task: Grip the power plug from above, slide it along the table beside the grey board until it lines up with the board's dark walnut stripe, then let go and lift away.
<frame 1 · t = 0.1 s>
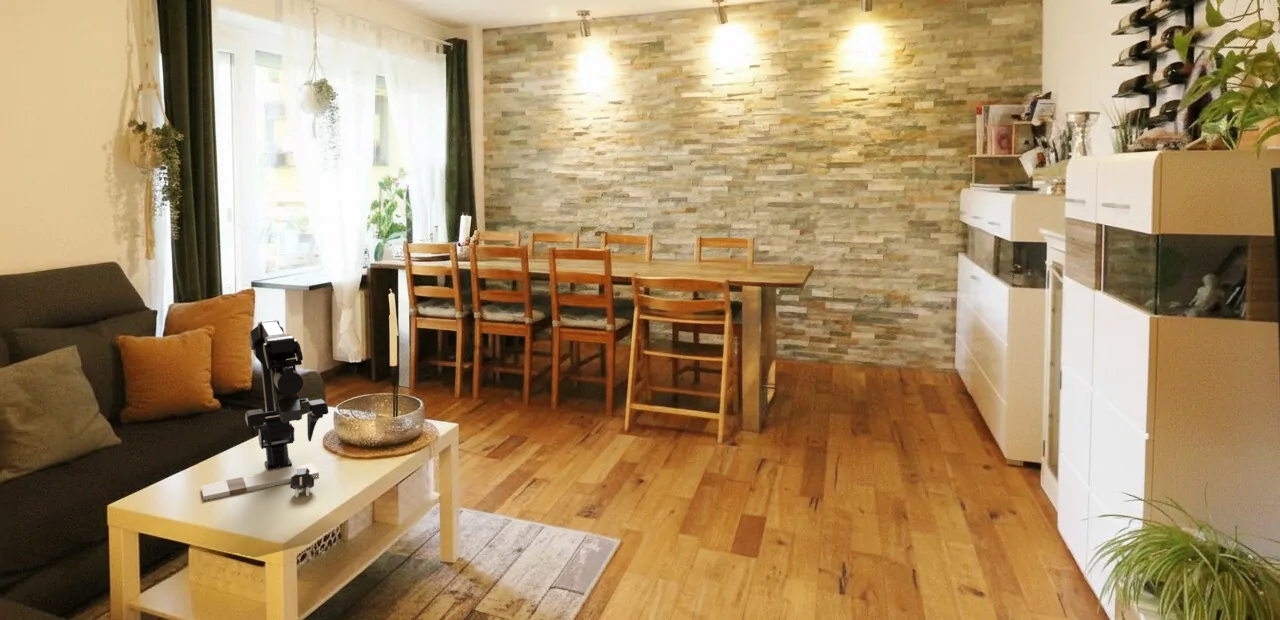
hand: (290, 444, 197), 14 cm above the table, tool pointing down, fingers open, 9 cm apart
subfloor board: (261, 483, 209), on the table
power plug: (305, 490, 205), on the table
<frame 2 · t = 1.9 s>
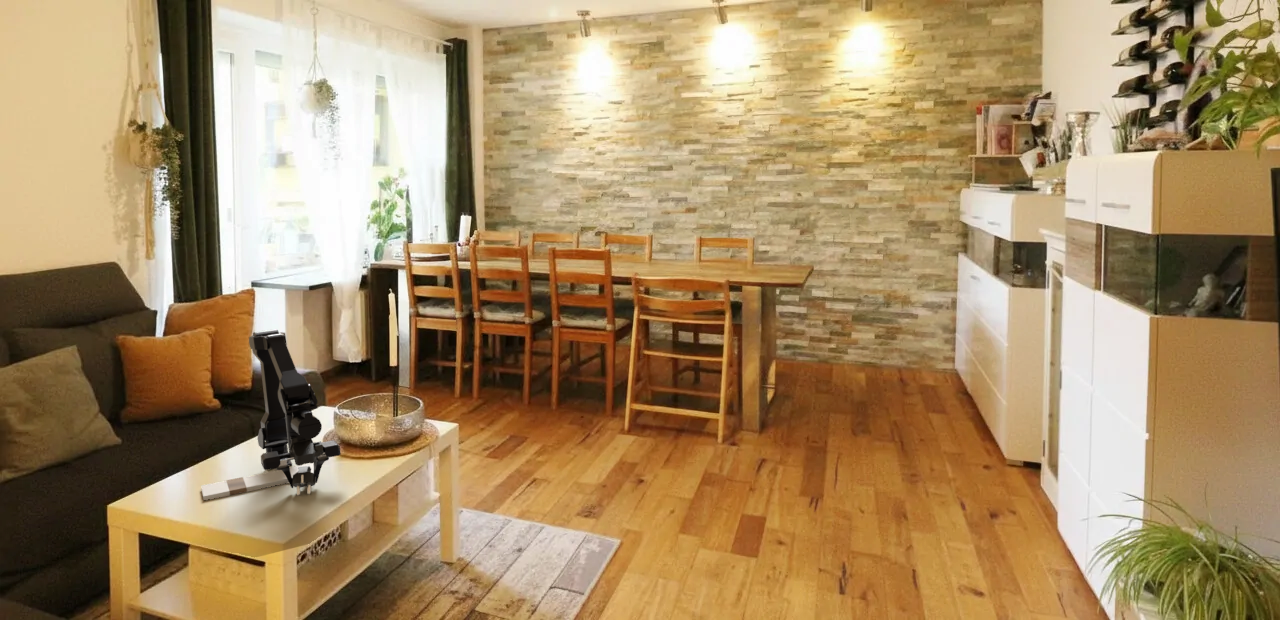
hand: (304, 485, 204), 1 cm above the table, tool pointing down, fingers closed on power plug, 5 cm apart
power plug: (306, 488, 206), on the table, touching gripper
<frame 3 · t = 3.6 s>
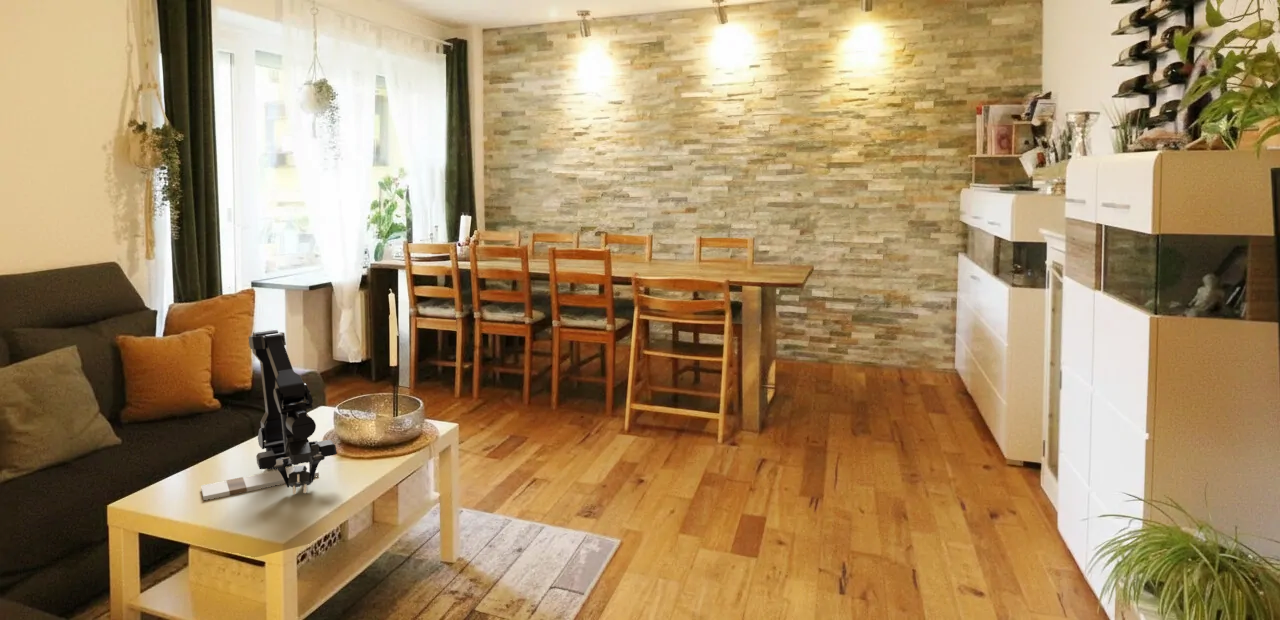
hand: (299, 484, 204), 2 cm above the table, tool pointing down, fingers closed on power plug, 5 cm apart
power plug: (302, 487, 206), on the table, touching gripper
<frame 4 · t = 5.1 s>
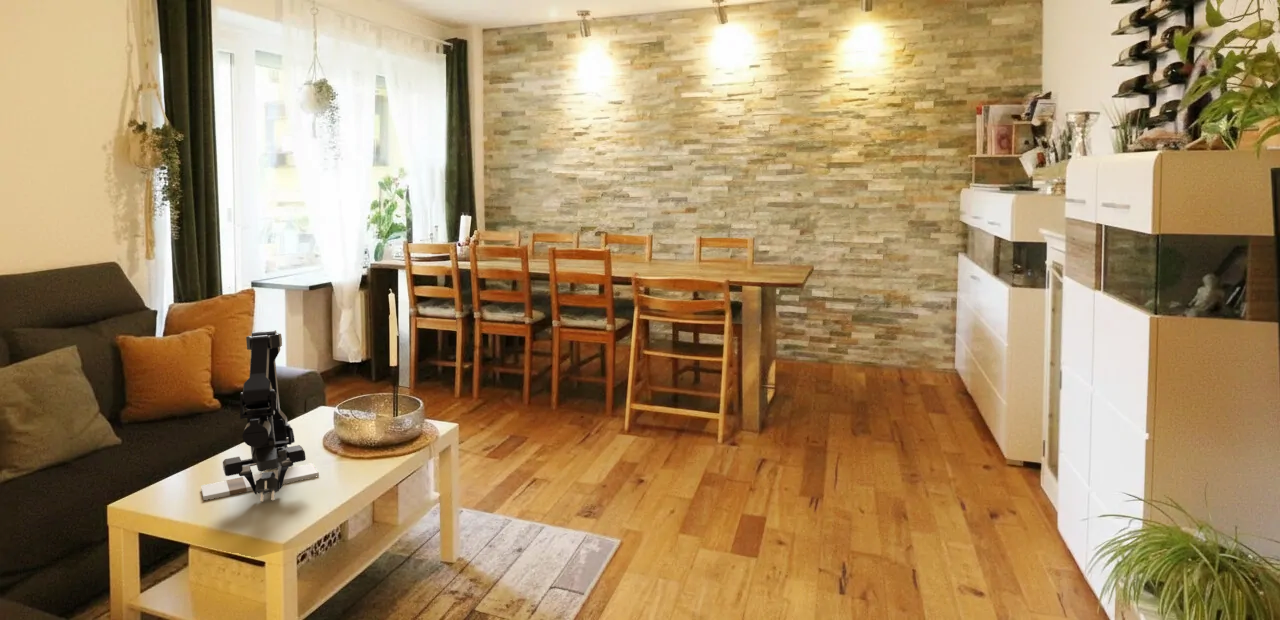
hand: (268, 491, 200), 2 cm above the table, tool pointing down, fingers closed on power plug, 5 cm apart
power plug: (271, 494, 201), on the table, touching gripper
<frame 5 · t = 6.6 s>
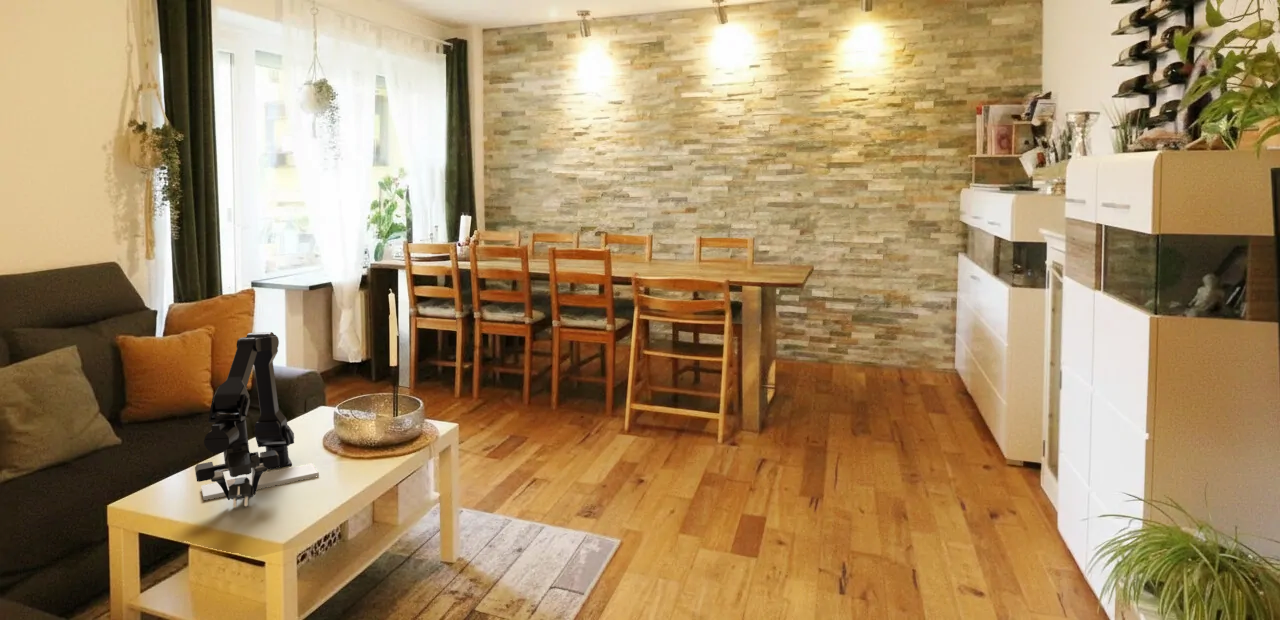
hand: (241, 497, 196), 2 cm above the table, tool pointing down, fingers closed on power plug, 5 cm apart
power plug: (245, 500, 198), on the table, touching gripper
when the fingers open (1 cm above the table, at t = 7.9 s): power plug stays where it is, on the table.
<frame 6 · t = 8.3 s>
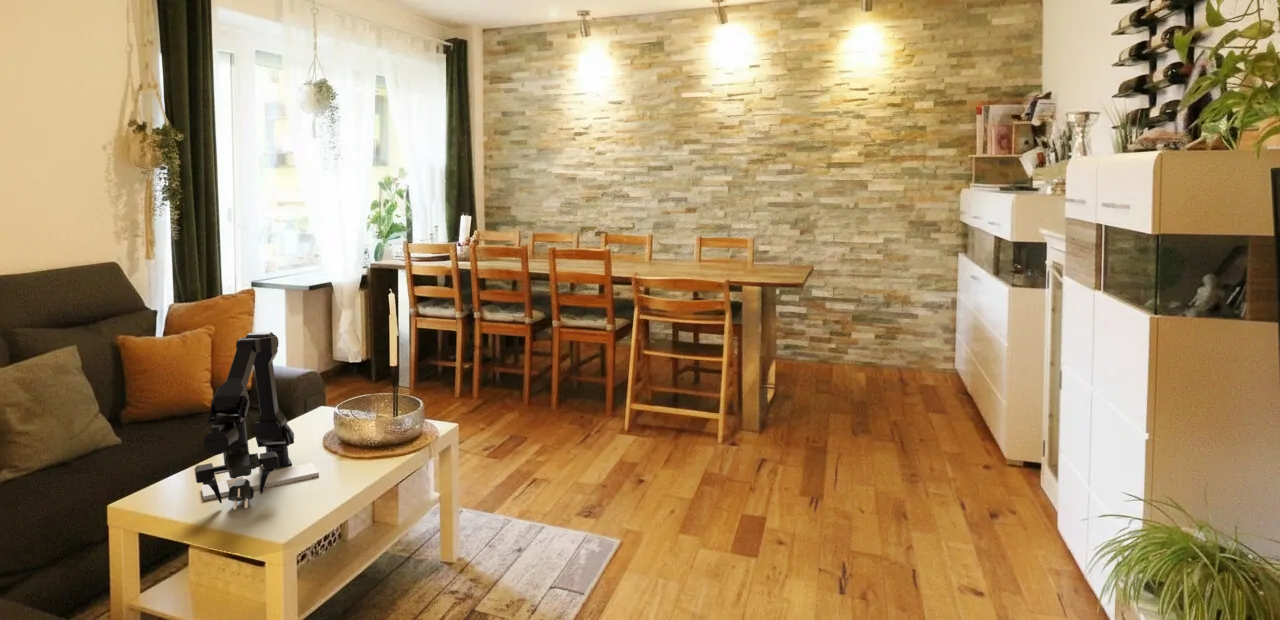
hand: (241, 498, 196), 1 cm above the table, tool pointing down, fingers open, 9 cm apart
power plug: (245, 501, 198), on the table
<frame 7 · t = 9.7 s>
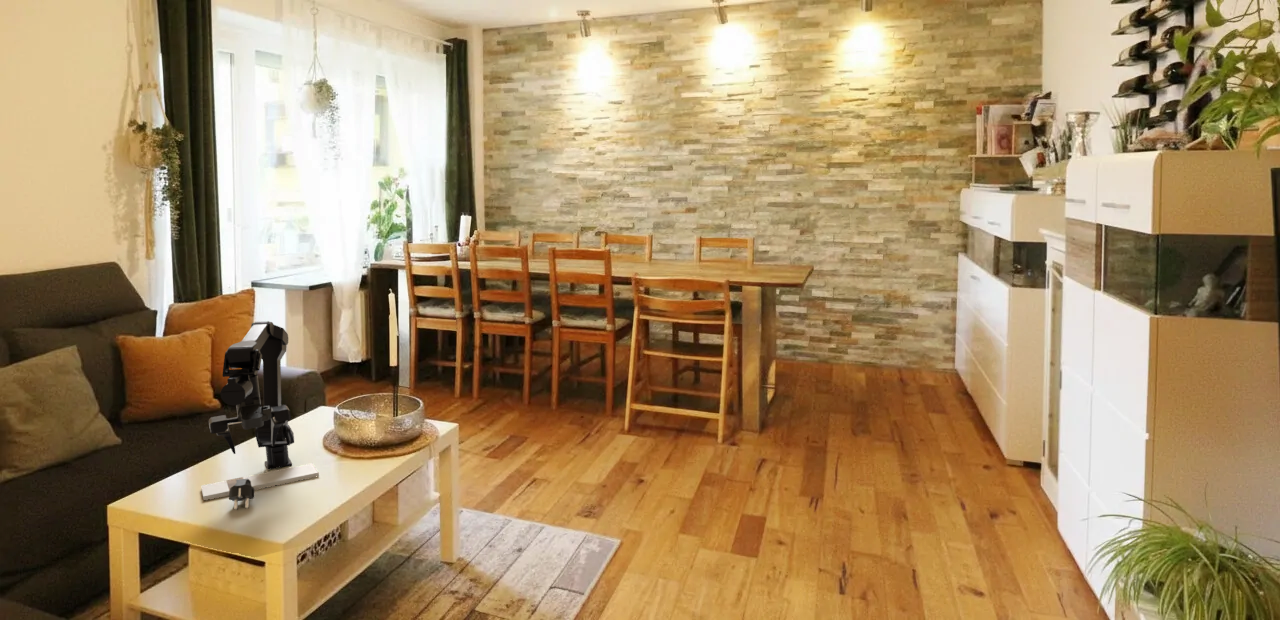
hand: (254, 449, 202), 11 cm above the table, tool pointing down, fingers open, 9 cm apart
nothing on the table moved.
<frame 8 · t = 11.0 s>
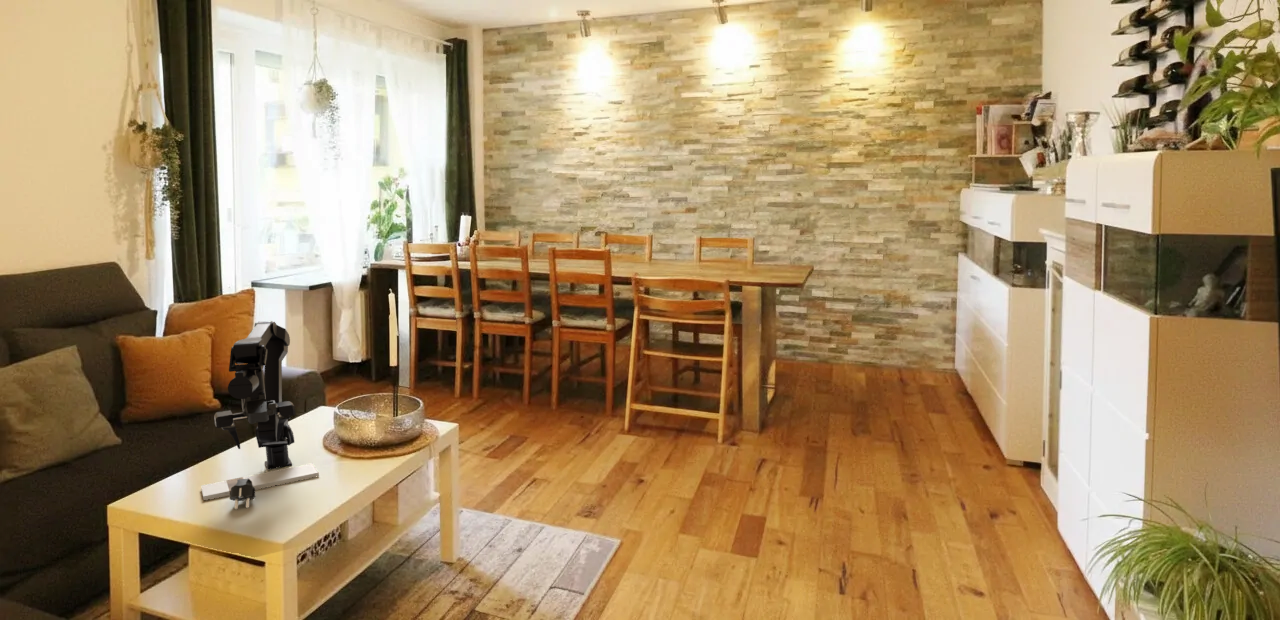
hand: (258, 445, 204), 12 cm above the table, tool pointing down, fingers open, 9 cm apart
nothing on the table moved.
at the end: power plug 2.2 cm from the target spot, on the table; power plug tilted 1°; the gripper is holding nothing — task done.
